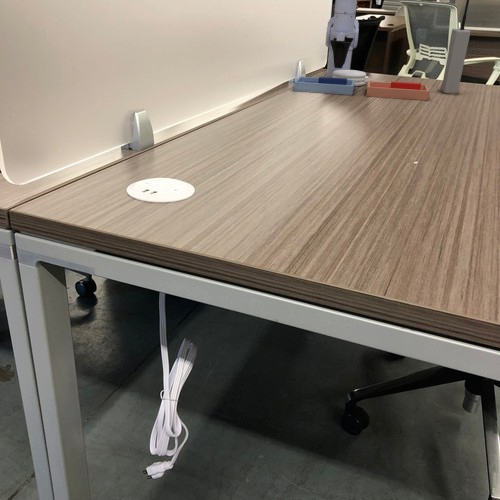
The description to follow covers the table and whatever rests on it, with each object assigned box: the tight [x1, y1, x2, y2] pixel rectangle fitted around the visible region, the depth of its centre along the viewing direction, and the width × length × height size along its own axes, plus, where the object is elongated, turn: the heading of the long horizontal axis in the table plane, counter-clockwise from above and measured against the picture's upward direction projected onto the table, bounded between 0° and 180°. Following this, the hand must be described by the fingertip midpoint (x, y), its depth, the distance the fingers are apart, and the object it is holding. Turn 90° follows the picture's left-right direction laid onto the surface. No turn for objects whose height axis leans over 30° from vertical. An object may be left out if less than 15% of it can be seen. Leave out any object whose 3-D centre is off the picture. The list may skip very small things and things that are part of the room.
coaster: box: [333, 69, 367, 87], centre depth 154 cm, size 10×10×4 cm
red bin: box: [366, 80, 430, 101], centre depth 140 cm, size 10×16×2 cm, turn 77°
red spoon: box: [375, 80, 422, 90], centre depth 140 cm, size 12×4×3 cm, turn 77°
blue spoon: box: [305, 76, 347, 85], centre depth 144 cm, size 12×4×3 cm, turn 77°
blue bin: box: [293, 76, 355, 96], centre depth 144 cm, size 10×16×2 cm, turn 77°
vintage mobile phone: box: [439, 0, 471, 95], centre depth 141 cm, size 4×5×25 cm
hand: (339, 66), depth 144 cm, fingers open, 7 cm apart
